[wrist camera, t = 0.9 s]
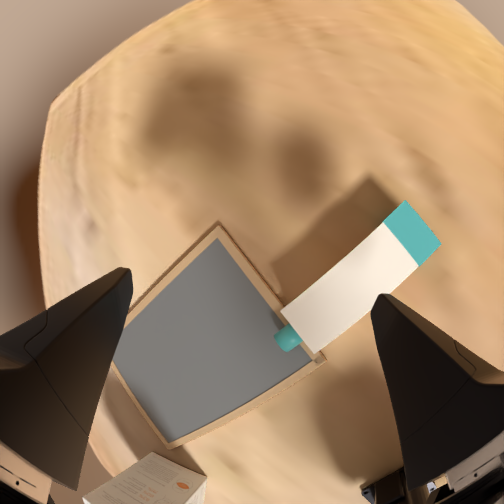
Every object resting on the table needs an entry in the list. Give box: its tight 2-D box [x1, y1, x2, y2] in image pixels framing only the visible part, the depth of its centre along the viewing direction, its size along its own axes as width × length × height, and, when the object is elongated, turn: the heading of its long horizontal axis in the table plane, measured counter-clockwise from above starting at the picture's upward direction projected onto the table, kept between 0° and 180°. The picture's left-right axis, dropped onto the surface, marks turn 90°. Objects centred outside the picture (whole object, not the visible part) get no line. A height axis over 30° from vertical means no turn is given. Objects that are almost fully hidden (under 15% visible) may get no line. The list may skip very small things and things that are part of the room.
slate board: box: [111, 225, 327, 450], centre depth 25 cm, size 15×21×1 cm
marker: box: [274, 200, 441, 354], centre depth 20 cm, size 4×14×4 cm, turn 129°
